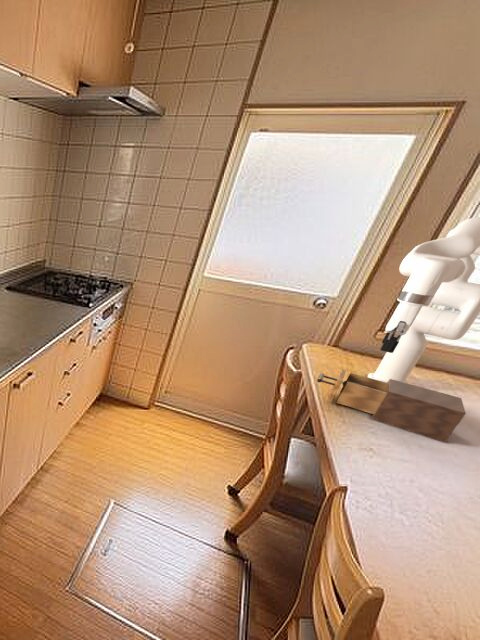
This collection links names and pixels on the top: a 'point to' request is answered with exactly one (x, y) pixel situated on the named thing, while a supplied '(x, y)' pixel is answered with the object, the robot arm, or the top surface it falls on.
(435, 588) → the top surface
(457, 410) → the cabinet
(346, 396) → the drawer
